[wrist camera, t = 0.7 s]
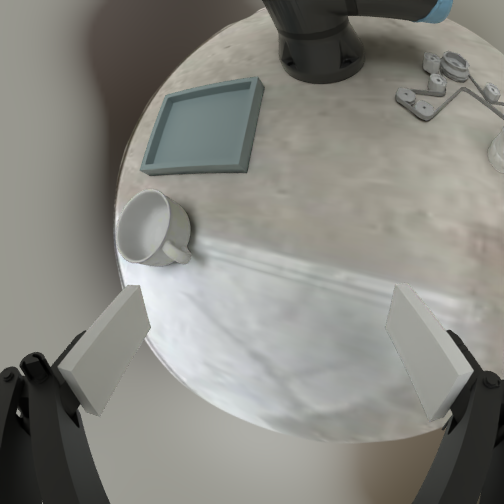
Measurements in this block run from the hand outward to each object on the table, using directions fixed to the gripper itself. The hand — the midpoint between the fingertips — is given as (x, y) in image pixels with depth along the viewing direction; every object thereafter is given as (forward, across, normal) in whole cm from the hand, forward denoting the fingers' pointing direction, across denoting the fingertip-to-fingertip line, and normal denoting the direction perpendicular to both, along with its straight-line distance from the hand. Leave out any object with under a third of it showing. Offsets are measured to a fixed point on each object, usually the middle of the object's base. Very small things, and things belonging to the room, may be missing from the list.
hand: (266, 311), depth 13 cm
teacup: (+28, -15, -6) cm, 32 cm away
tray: (+37, -11, +12) cm, 40 cm away
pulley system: (+27, +33, +20) cm, 47 cm away
